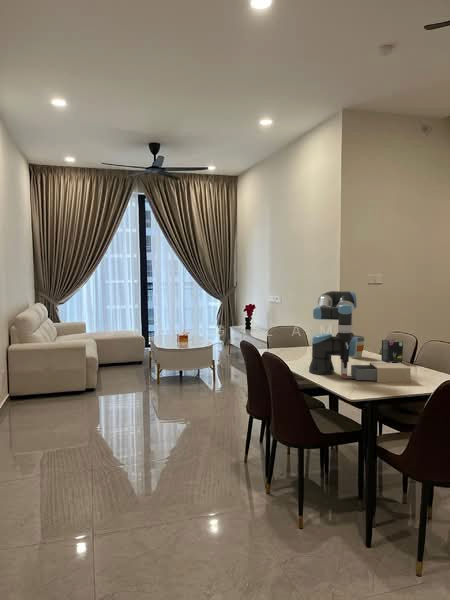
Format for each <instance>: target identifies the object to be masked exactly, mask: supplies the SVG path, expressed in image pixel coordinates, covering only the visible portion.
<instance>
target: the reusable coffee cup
mask: <svg viewBox="0 0 450 600" xmlns="http://www.w3.org/2000/svg"><path fill="white" fill-rule="evenodd" d="M355 337H357V350H356V354H355V356H349V358H350V357H351V358H350V359H361V358H362V356H363V352H364V346H365V343H364V342H365V336H363V335H355ZM360 357H361V358H360Z"/></svg>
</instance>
